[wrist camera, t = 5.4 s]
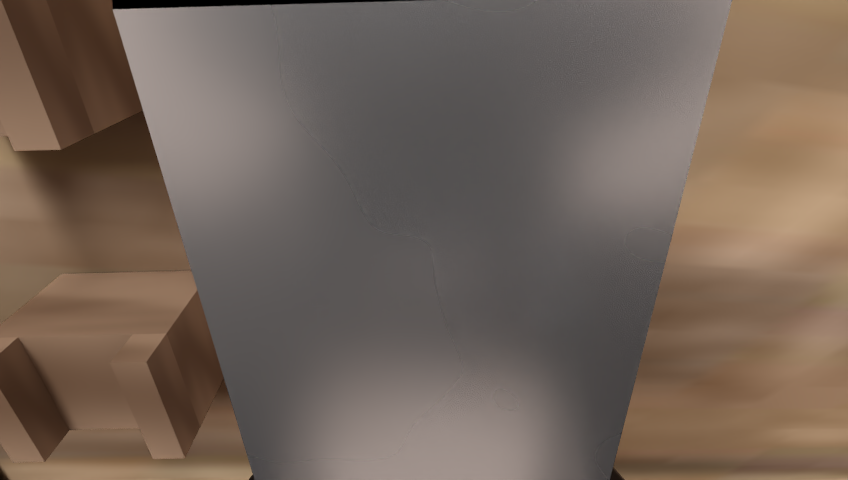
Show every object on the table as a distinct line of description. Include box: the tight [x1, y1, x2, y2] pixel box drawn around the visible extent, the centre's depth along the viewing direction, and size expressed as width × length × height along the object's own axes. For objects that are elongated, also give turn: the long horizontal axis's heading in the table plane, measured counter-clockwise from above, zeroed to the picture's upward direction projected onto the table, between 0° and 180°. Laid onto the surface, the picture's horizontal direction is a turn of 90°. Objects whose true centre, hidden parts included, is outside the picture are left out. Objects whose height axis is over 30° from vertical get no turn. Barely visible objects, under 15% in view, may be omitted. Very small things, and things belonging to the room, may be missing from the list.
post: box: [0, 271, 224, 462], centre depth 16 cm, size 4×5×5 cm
